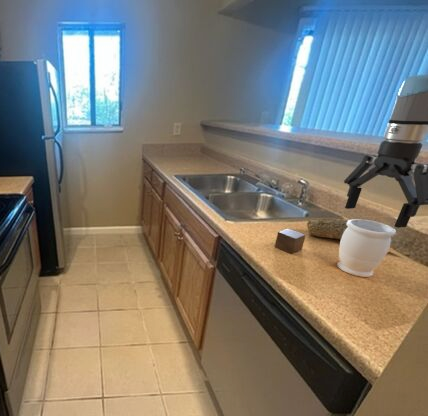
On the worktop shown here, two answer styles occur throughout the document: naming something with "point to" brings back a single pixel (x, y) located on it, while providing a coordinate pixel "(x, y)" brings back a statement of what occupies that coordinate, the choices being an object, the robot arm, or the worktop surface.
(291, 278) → the worktop surface
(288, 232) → the walnut block
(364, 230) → the jar
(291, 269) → the worktop surface
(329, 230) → the rough brown rock
